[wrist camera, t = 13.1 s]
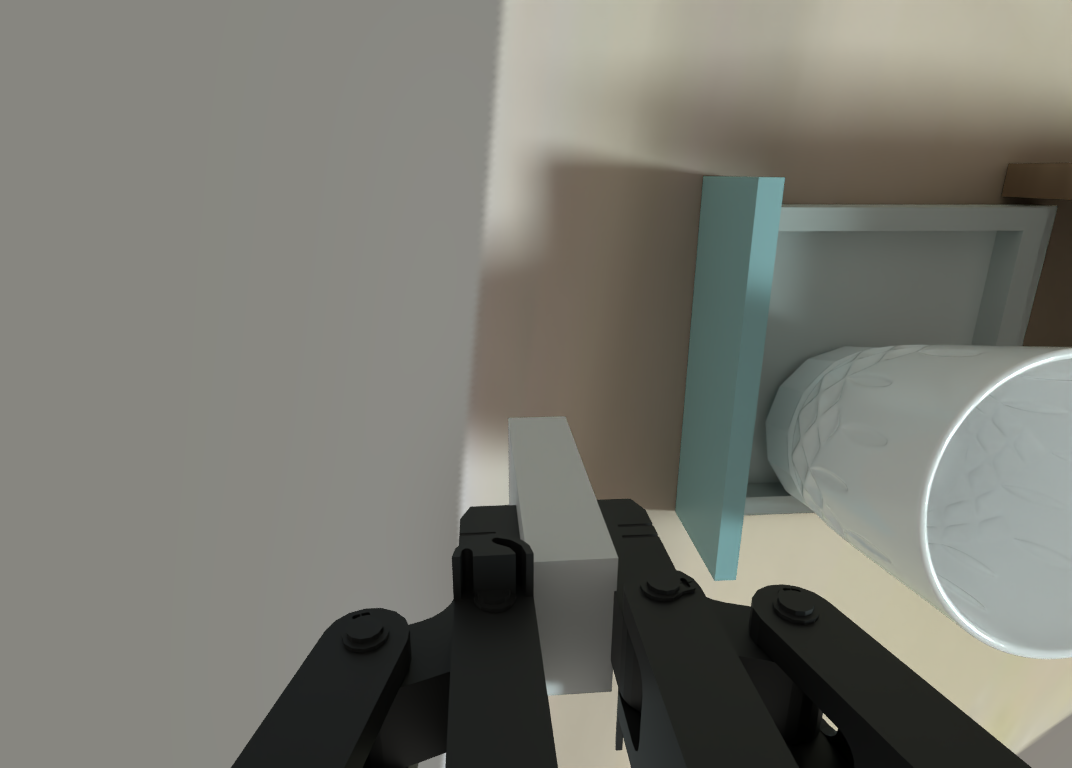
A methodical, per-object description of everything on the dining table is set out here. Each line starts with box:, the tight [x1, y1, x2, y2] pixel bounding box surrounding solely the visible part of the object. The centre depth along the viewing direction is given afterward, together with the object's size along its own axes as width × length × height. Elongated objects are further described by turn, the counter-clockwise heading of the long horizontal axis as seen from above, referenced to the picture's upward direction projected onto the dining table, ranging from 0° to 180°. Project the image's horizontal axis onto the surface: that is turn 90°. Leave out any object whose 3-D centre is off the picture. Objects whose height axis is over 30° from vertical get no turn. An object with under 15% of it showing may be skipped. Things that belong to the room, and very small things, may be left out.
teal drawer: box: [675, 176, 1058, 581], centre depth 24 cm, size 14×13×5 cm
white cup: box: [765, 344, 1072, 659], centre depth 20 cm, size 8×8×10 cm
